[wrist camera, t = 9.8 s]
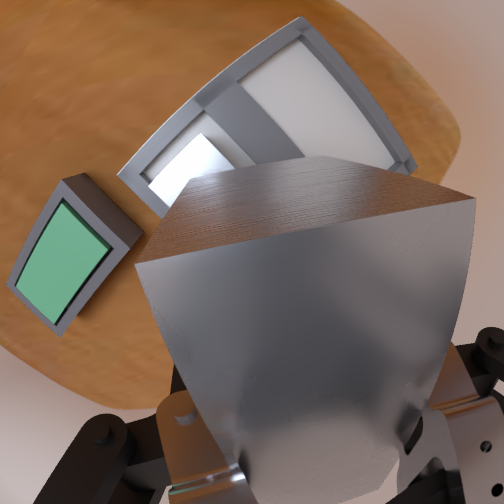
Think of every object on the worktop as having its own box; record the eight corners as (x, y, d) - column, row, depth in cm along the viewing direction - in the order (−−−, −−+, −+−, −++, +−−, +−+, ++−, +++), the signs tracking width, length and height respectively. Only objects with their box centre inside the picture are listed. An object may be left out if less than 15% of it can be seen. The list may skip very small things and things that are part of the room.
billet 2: (249, 402, 12) (268, 518, 6) (190, 178, 8) (135, 263, 3) (333, 382, 12) (378, 489, 7) (322, 155, 8) (476, 197, 3)
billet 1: (167, 174, 20) (148, 186, 15) (206, 136, 20) (200, 133, 14) (257, 263, 24) (269, 301, 18) (295, 230, 23) (318, 259, 17)
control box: (26, 267, 22) (5, 284, 19) (84, 172, 20) (61, 179, 17) (75, 315, 25) (60, 337, 21) (143, 231, 23) (130, 248, 19)
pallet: (121, 173, 21) (111, 176, 19) (295, 22, 18) (303, 11, 15) (255, 299, 26) (258, 313, 24) (406, 163, 23) (422, 166, 21)
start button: (24, 279, 20) (15, 286, 19) (70, 199, 18) (61, 203, 17) (60, 315, 22) (53, 324, 20) (114, 242, 20) (107, 249, 19)
